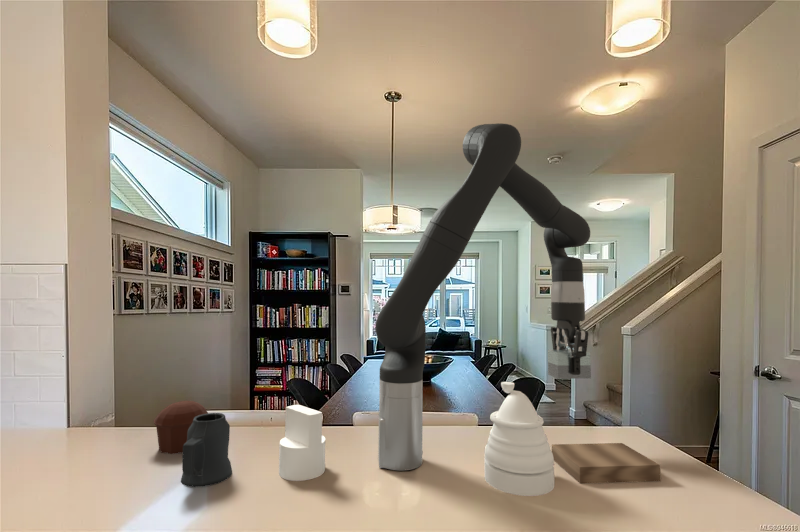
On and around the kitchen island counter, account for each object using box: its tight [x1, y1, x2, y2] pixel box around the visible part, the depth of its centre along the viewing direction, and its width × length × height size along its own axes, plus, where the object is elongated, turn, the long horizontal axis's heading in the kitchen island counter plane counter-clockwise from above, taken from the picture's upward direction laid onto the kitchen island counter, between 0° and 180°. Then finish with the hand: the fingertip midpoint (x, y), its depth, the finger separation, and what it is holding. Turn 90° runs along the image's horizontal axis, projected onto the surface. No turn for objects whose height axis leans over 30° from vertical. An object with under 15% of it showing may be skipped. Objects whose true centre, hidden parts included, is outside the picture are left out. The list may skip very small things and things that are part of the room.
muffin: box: [153, 400, 208, 455], centre depth 96 cm, size 12×11×10 cm
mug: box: [180, 412, 233, 488], centre depth 79 cm, size 12×9×11 cm
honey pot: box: [483, 381, 555, 497], centre depth 80 cm, size 13×13×18 cm
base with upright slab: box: [278, 404, 326, 482], centre depth 83 cm, size 9×9×12 cm
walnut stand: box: [551, 442, 662, 484], centre depth 84 cm, size 16×12×3 cm
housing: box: [547, 349, 592, 380], centre depth 98 cm, size 5×8×6 cm, turn 95°
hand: (569, 371), depth 98 cm, fingers closed on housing, 5 cm apart
